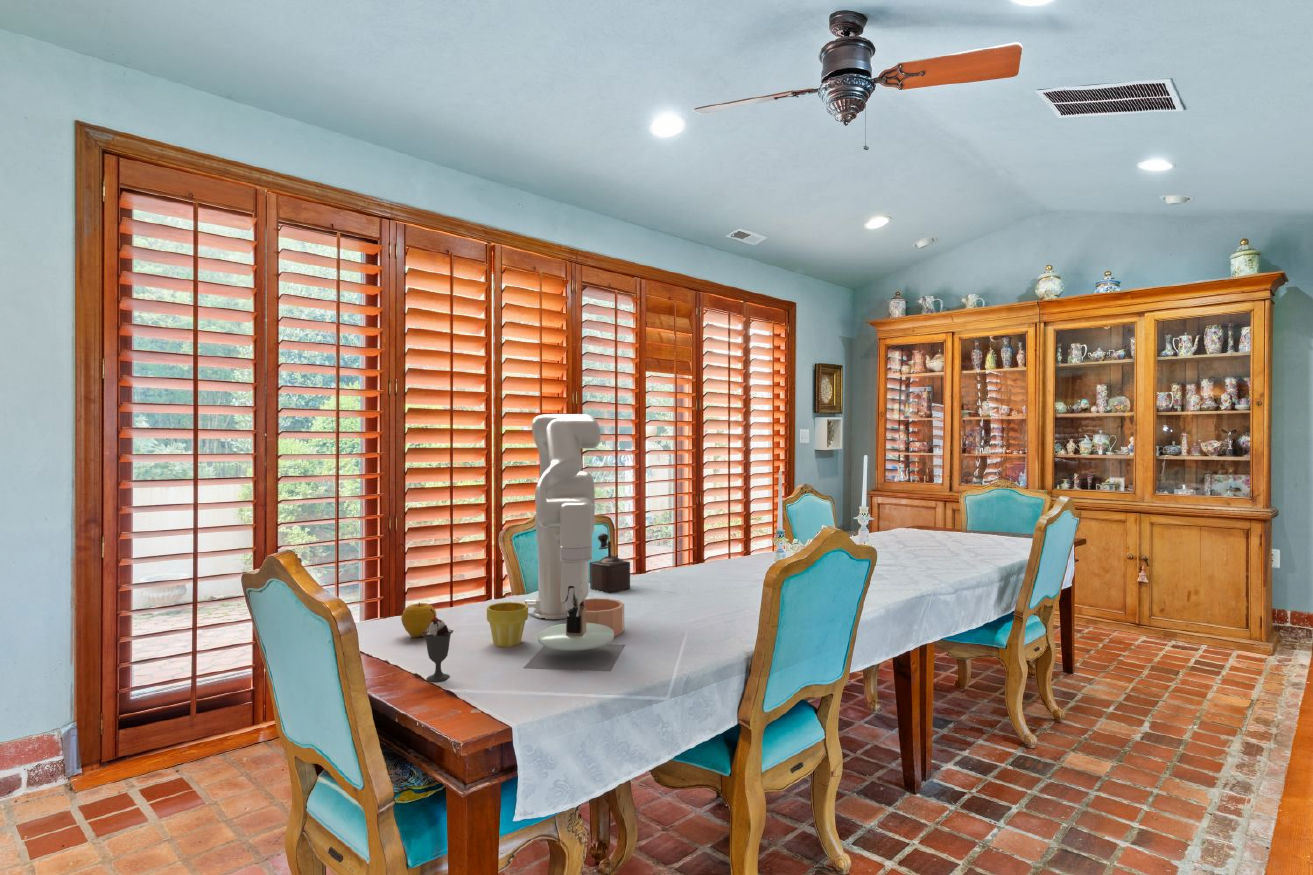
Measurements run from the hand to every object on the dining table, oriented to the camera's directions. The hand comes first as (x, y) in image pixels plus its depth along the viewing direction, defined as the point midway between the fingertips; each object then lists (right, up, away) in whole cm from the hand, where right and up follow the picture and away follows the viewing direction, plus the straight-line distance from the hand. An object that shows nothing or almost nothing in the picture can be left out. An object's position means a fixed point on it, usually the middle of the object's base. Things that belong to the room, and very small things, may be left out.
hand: (576, 628), depth 171 cm
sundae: (-29, -7, -14) cm, 33 cm away
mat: (0, -7, -1) cm, 7 cm away
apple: (-44, -7, +19) cm, 48 cm away
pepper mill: (+2, -7, +79) cm, 79 cm away
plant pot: (-19, -7, +11) cm, 23 cm away
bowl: (+3, -7, +21) cm, 23 cm away
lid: (0, -2, 0) cm, 2 cm away
